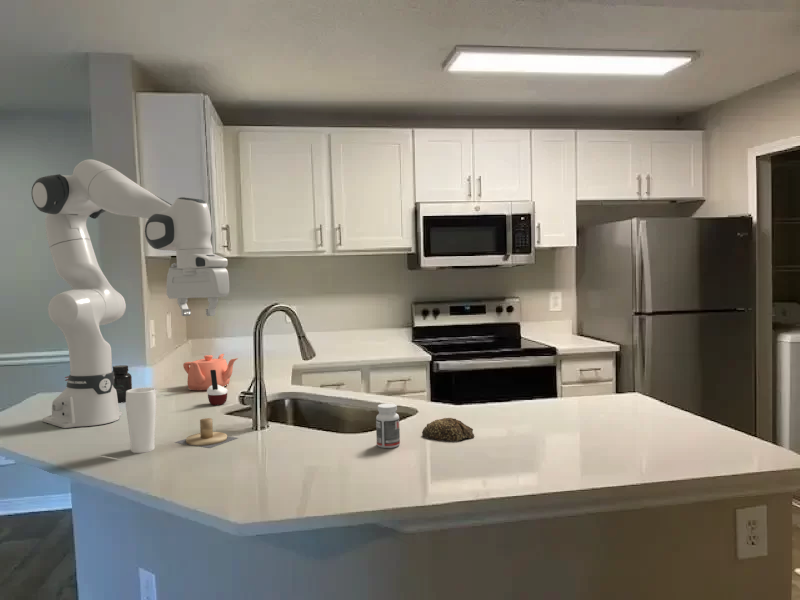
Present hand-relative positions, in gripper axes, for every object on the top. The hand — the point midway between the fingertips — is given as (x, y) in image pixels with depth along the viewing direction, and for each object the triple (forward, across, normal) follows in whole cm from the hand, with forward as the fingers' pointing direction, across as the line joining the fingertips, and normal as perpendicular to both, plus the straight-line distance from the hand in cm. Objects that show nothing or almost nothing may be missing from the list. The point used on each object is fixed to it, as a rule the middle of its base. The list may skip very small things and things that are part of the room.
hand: (198, 315), depth 158 cm
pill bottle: (+34, +43, +20) cm, 58 cm away
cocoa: (+32, -34, +33) cm, 57 cm away
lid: (+32, +1, 0) cm, 32 cm away
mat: (+32, +1, 0) cm, 32 cm away
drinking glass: (+32, -6, -14) cm, 35 cm away
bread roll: (+35, +52, +36) cm, 72 cm away
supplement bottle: (+31, -68, +21) cm, 77 cm away
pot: (+31, -60, +52) cm, 85 cm away
